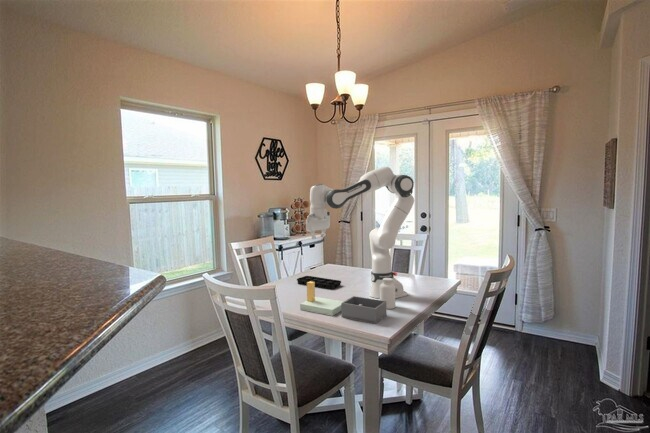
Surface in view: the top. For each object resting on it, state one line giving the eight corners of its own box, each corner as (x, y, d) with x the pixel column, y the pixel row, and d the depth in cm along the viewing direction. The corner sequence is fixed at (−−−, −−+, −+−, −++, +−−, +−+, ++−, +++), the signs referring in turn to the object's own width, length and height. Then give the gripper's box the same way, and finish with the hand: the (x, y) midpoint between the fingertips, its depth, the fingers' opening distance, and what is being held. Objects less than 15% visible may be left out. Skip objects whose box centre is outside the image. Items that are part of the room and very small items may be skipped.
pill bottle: (393, 304, 191) (393, 276, 190) (396, 309, 183) (397, 280, 182) (378, 304, 191) (378, 277, 190) (381, 309, 183) (381, 280, 182)
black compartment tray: (303, 280, 247) (303, 274, 247) (344, 284, 236) (344, 278, 235) (292, 286, 231) (292, 281, 231) (335, 291, 219) (335, 285, 219)
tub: (386, 315, 175) (386, 301, 174) (375, 323, 163) (375, 308, 163) (353, 309, 184) (353, 296, 183) (341, 317, 173) (341, 302, 172)
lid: (346, 307, 187) (345, 283, 186) (332, 315, 175) (332, 289, 174) (315, 301, 197) (314, 278, 196) (300, 309, 185) (299, 284, 184)
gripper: (312, 214, 187) (312, 240, 188) (331, 212, 205) (332, 236, 206) (302, 214, 190) (303, 240, 191) (322, 212, 208) (323, 235, 209)
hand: (318, 238), depth 199 cm, fingers open, 8 cm apart
